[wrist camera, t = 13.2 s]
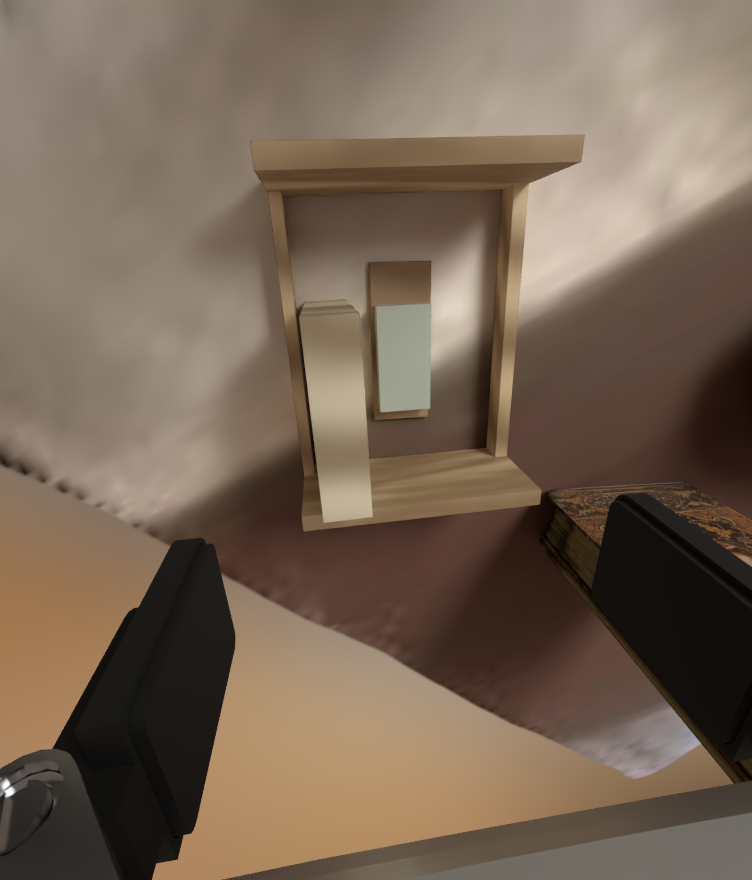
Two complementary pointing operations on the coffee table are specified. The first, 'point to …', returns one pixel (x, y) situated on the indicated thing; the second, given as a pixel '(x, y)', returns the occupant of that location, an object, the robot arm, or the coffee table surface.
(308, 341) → the birch sheet
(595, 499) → the book
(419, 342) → the offcut slab top
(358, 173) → the pine rack
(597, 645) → the coffee table surface
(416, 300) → the offcut slab bottom
